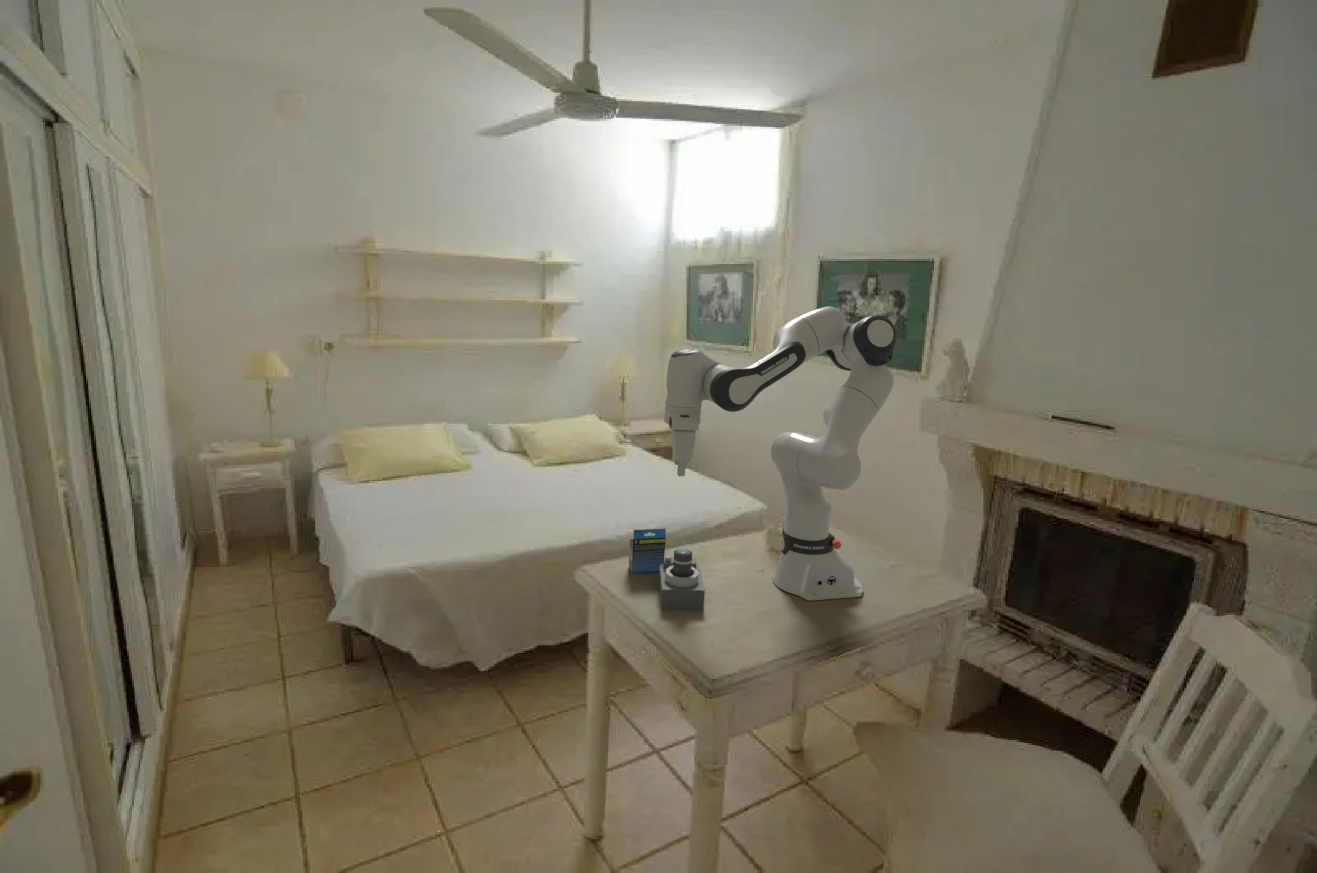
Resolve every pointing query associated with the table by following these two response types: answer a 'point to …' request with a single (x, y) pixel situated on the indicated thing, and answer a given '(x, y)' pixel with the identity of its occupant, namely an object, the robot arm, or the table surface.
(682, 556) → the lens
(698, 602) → the camera body
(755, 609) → the table surface
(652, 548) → the label tape box
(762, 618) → the table surface
